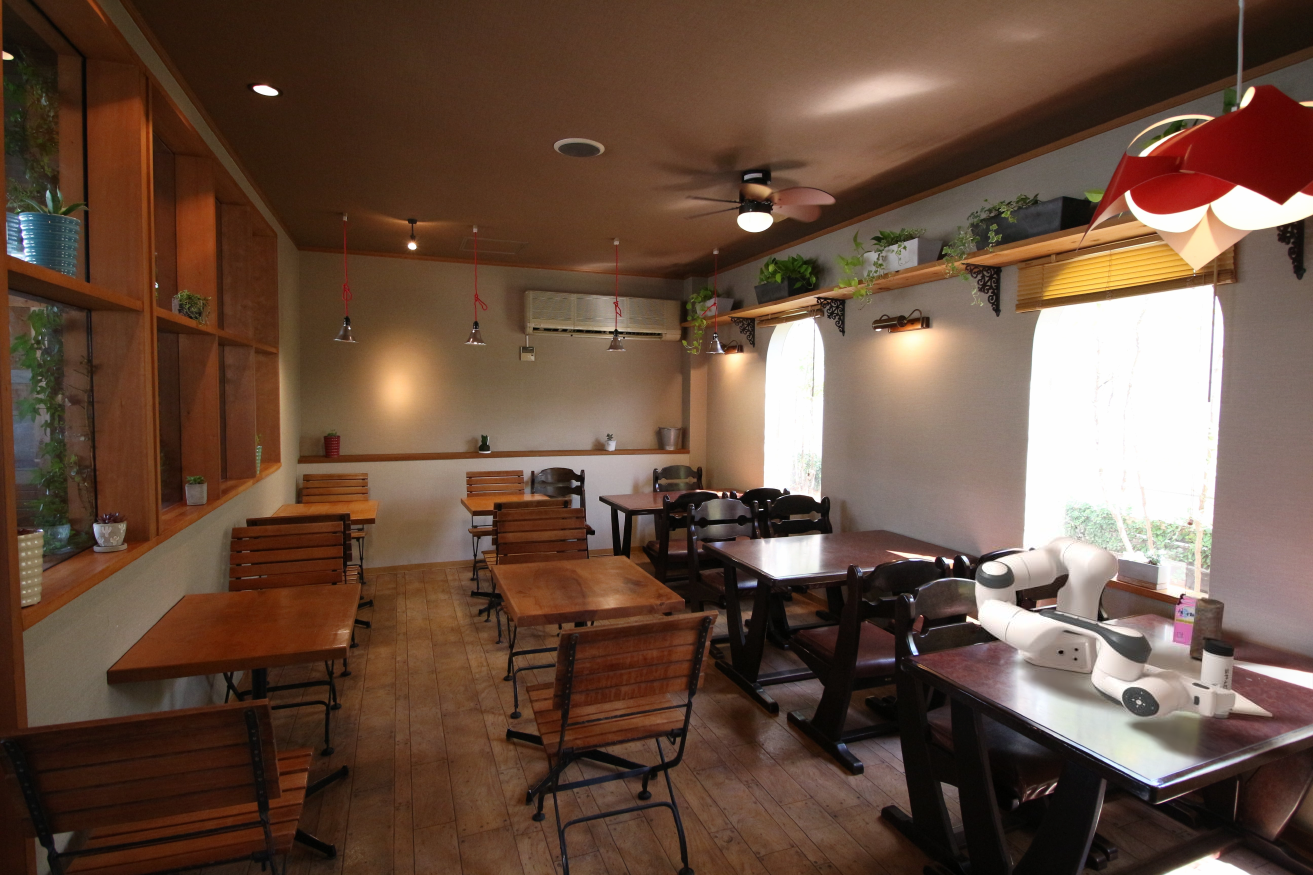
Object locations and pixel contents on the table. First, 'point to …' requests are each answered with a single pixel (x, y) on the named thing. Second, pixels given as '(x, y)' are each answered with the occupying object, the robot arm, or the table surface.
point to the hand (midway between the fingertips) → (1195, 680)
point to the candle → (1205, 624)
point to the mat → (1247, 707)
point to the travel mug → (1217, 666)
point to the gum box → (1184, 619)
